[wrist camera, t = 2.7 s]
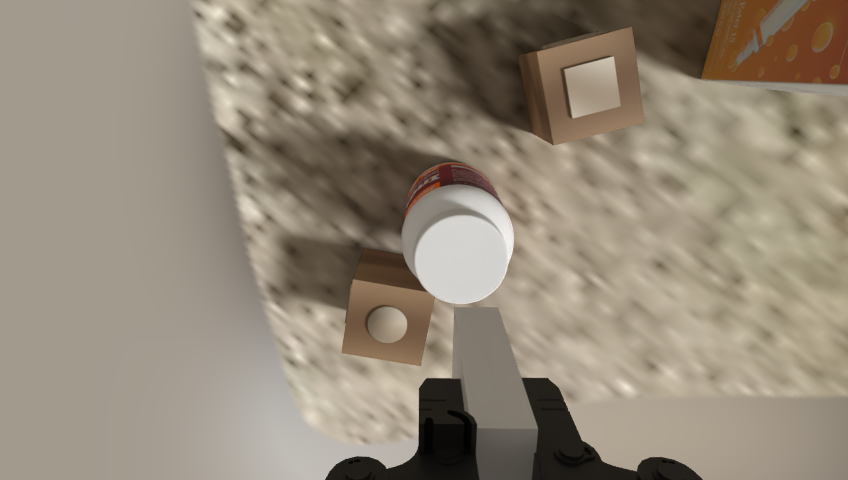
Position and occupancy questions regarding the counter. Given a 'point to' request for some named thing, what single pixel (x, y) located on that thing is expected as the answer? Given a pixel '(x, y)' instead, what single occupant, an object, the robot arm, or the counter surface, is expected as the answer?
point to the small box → (781, 45)
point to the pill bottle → (456, 233)
